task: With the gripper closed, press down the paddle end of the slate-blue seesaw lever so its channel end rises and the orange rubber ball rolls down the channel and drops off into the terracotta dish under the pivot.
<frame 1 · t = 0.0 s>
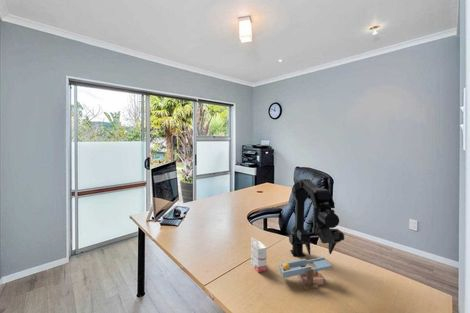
hand: (319, 254, 97), 15 cm above the table, fingers open, 9 cm apart
ink cartridge box: (258, 267, 113), on the table
stand: (306, 280, 102), resting in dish
ball: (286, 267, 101), point 7 cm above the table, tilted 38°, touching lever
lever: (304, 266, 101), point 7 cm above the table, hinge at 10.0°, touching ball
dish: (310, 280, 102), on the table
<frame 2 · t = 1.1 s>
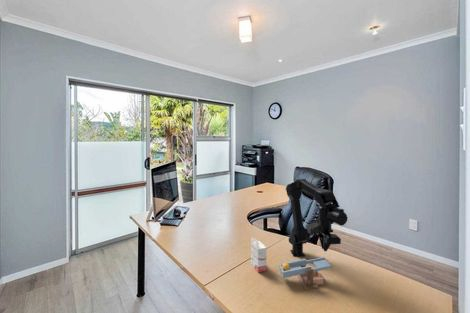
hand: (324, 250, 105), 12 cm above the table, fingers closed
nothing on the table moved.
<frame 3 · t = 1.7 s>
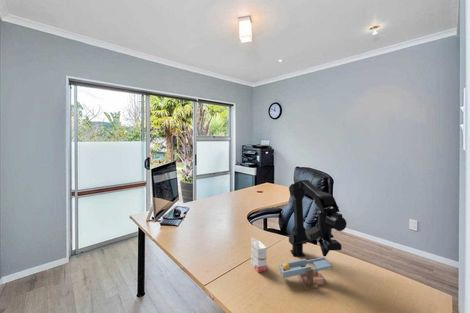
hand: (324, 256, 102), 11 cm above the table, fingers closed
nothing on the table moved.
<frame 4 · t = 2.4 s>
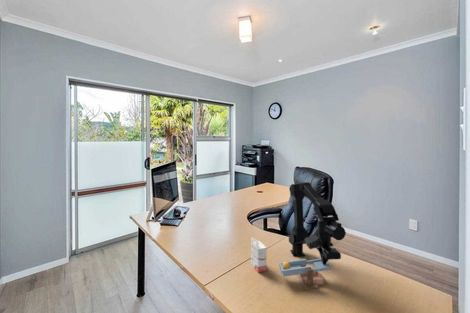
hand: (323, 264, 102), 7 cm above the table, fingers closed, pressing on lever
lever: (304, 266, 101), point 7 cm above the table, hinge at 6.3°, touching ball, gripper
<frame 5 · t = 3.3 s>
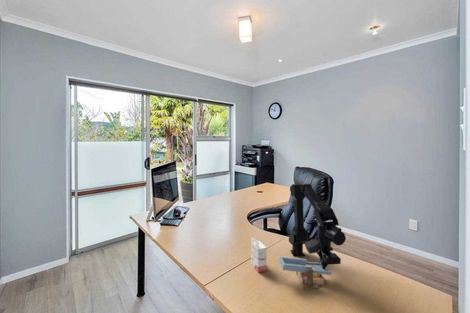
hand: (323, 268, 102), 5 cm above the table, fingers closed, pressing on lever
ball: (315, 274, 102), point 2 cm above the table, tilted 76°
lever: (304, 265, 101), point 7 cm above the table, hinge at -8.0°, touching gripper
everything else where it was.
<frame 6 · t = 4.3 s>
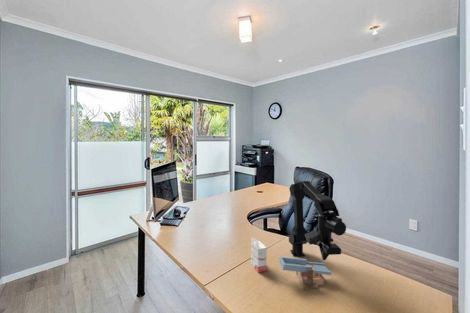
hand: (324, 259, 101), 10 cm above the table, fingers closed
ball: (312, 275, 102), point 2 cm above the table, tilted 30°, touching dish
lever: (304, 265, 101), point 7 cm above the table, hinge at -8.2°
everything else where it was.
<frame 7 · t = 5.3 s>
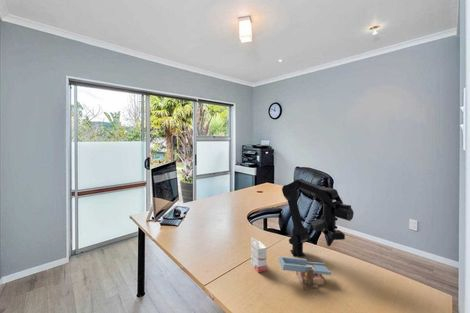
hand: (328, 245, 109), 12 cm above the table, fingers closed
ball: (309, 275, 102), point 2 cm above the table, tilted 20°, touching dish
everything else where it was.
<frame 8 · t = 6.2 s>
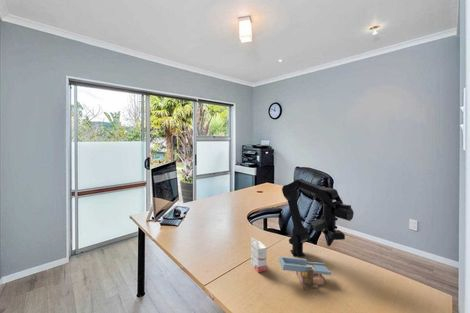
hand: (328, 245, 110), 12 cm above the table, fingers closed
ball: (306, 275, 102), point 2 cm above the table, tilted 66°, touching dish
everything else where it was.
at the end: ball inside the target area on the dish (2.3 cm from its centre), point 2.3 cm above the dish's base; lever at -8° (first picture: +10°) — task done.
